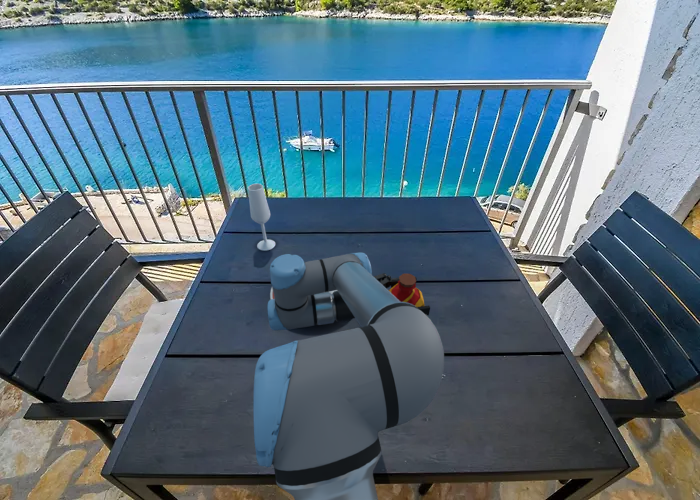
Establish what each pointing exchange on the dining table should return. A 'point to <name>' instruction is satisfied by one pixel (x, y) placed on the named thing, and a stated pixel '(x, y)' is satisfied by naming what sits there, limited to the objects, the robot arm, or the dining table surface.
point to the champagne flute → (260, 213)
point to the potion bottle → (408, 291)
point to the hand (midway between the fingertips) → (422, 295)
